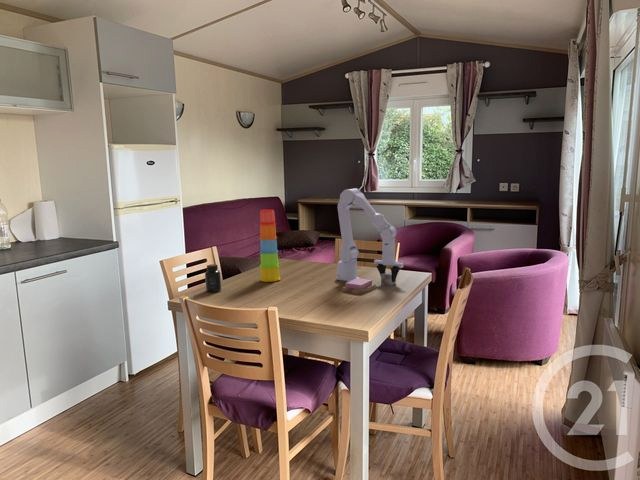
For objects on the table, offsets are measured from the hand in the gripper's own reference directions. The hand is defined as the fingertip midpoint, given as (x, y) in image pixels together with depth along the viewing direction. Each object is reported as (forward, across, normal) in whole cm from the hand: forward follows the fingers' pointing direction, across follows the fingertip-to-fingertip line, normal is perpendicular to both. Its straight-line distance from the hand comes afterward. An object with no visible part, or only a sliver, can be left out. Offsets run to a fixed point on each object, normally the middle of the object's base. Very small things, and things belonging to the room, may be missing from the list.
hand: (388, 280), depth 227 cm
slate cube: (+1, 0, 0) cm, 1 cm away
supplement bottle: (+2, -60, -54) cm, 81 cm away
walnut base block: (+2, -6, -16) cm, 17 cm away
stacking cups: (+2, -52, -25) cm, 58 cm away
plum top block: (0, -6, -16) cm, 17 cm away
